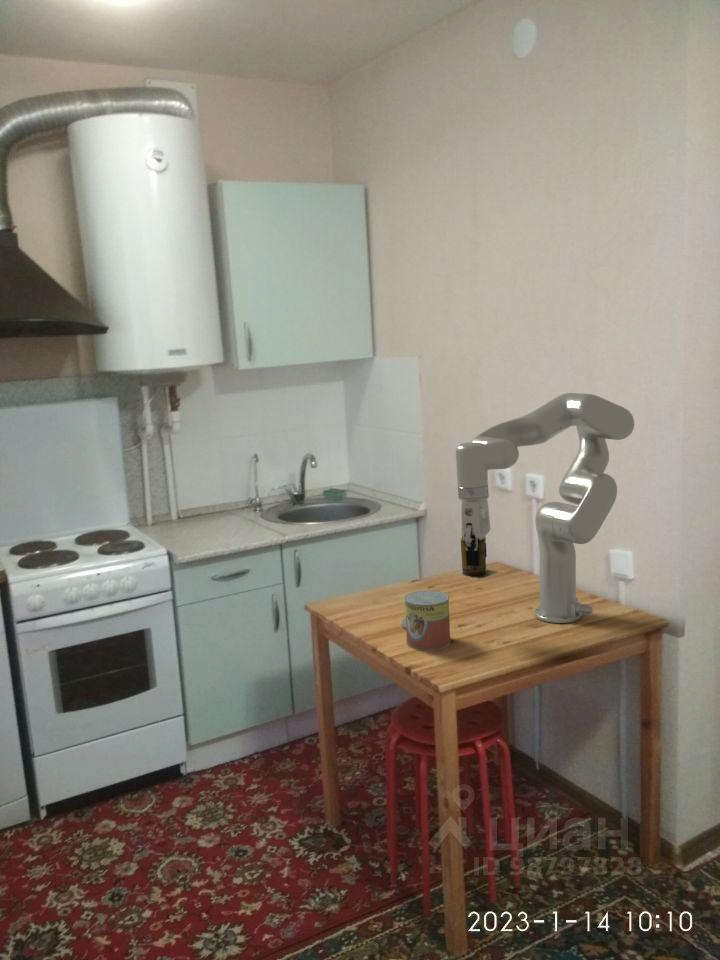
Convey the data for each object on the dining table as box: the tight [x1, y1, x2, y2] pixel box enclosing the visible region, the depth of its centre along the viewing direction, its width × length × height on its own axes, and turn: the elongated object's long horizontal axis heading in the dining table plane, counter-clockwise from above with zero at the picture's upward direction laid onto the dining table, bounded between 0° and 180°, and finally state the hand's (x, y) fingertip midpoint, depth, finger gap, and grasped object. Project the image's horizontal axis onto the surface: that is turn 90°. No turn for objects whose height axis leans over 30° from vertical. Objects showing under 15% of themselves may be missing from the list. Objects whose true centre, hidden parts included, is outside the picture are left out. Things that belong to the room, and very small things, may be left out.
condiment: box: [454, 534, 499, 580], centre depth 199 cm, size 7×8×12 cm
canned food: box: [404, 590, 452, 652], centre depth 202 cm, size 11×11×12 cm
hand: (476, 560), depth 200 cm, fingers closed on condiment, 6 cm apart
